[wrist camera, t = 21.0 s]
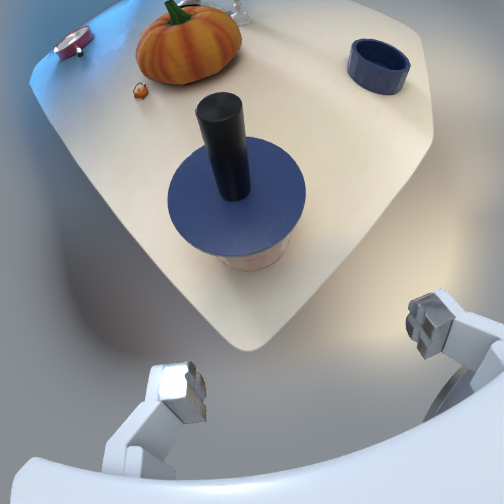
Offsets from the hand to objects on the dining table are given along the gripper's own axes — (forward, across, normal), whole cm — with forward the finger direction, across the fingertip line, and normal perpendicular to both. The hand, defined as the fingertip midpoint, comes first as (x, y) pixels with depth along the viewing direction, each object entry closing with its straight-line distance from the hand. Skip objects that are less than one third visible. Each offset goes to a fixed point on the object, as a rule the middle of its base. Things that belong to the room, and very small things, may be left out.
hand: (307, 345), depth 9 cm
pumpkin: (+49, -4, +20) cm, 53 cm away
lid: (+16, -2, +1) cm, 16 cm away
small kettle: (+45, -14, +16) cm, 50 cm away
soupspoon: (+69, +1, +40) cm, 80 cm away
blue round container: (+40, +27, +11) cm, 49 cm away
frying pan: (+71, -35, +42) cm, 90 cm away
